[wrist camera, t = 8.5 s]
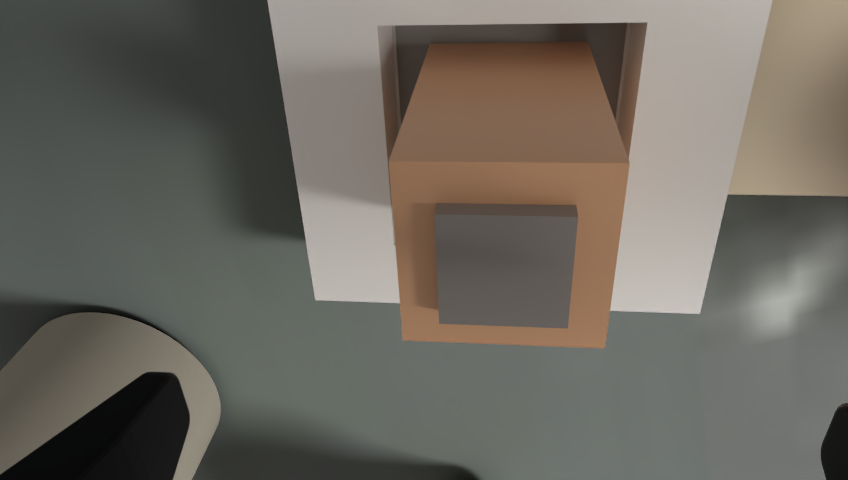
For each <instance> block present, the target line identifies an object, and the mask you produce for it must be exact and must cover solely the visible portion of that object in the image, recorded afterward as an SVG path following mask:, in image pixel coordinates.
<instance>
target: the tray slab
mask: <svg viewBox="0 0 848 480" xmlns="http://www.w3.org/2000/svg"><path fill="white" fill-rule="evenodd" d="M728 194H739V195H801V196H848V0H773V1H772V5H771V9H770V14H769V18H768V22H767V27H766V31H765V35H764V39H763V44H762V48H761V52H760V57H759V61H758V65H757V70H756V74H755V78H754V83H753V87H752V91H751V95H750V100H749V104H748V108H747V113H746V117H745V121H744V126H743V130H742V134H741V139H740V143H739V147H738V152H737V156H736V160H735V164H734V169H733V173H732V177H731V182H730V186H729V190H728Z"/></svg>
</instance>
